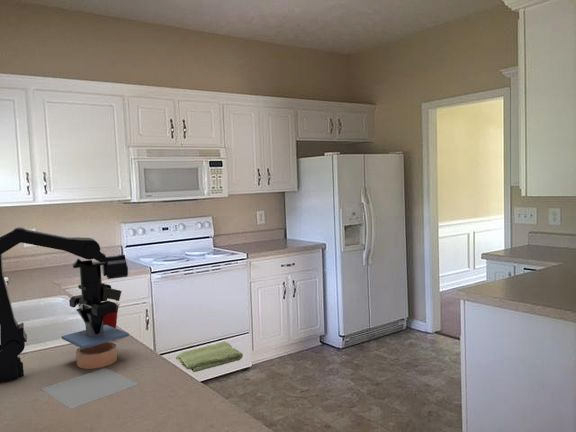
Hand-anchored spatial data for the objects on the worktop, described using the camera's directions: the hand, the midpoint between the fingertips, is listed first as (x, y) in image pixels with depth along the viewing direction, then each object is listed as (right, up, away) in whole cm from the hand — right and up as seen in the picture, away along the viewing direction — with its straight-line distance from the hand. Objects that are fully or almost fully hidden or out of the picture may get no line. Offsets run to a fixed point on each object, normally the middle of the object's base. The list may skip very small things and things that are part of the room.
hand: (94, 332), depth 152 cm
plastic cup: (-6, -8, +26) cm, 28 cm away
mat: (+5, -11, -17) cm, 21 cm away
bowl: (0, -10, +1) cm, 10 cm away
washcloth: (+34, -9, +1) cm, 35 cm away
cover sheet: (0, -1, 0) cm, 1 cm away
